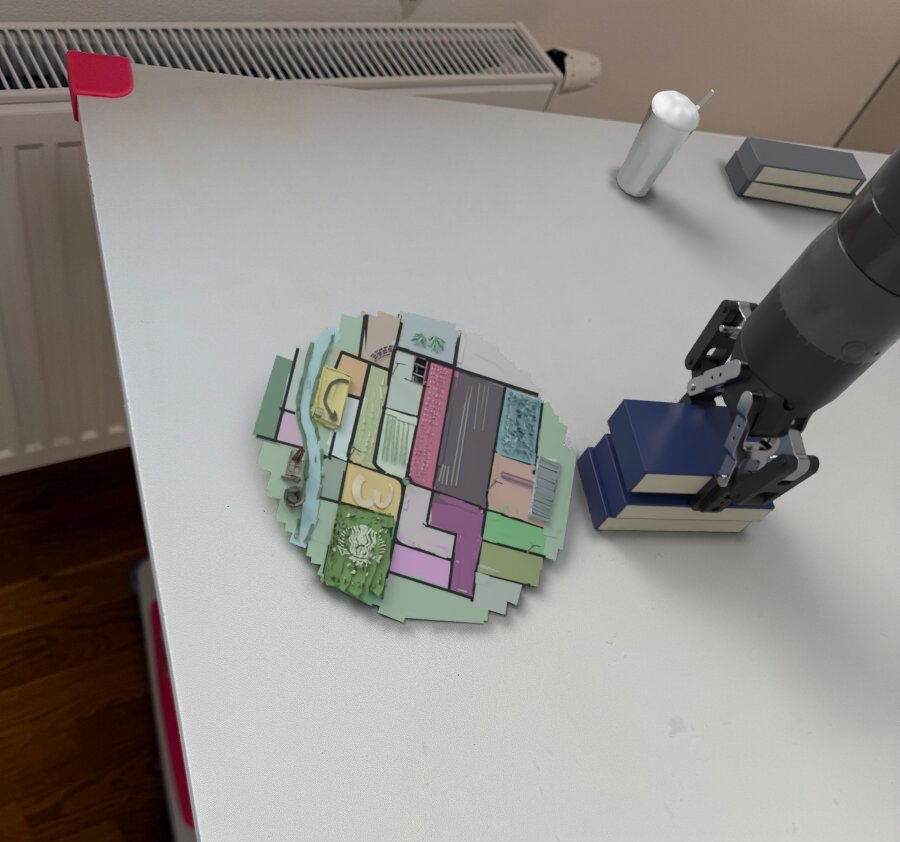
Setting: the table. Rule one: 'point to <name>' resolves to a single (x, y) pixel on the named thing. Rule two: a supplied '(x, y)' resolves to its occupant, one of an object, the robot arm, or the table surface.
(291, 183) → the table surface
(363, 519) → the city model
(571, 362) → the table surface
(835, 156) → the grey stack
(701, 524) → the navy stack
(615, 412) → the navy book
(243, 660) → the table surface
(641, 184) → the milkshake
